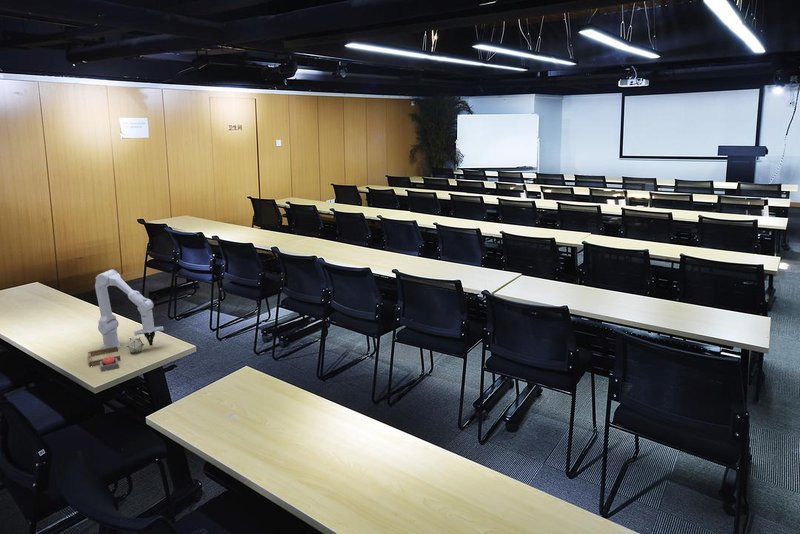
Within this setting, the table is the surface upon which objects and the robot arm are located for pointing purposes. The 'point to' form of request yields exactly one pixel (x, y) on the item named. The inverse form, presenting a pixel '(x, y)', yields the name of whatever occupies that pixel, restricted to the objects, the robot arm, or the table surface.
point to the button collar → (109, 367)
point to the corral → (101, 351)
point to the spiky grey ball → (135, 345)
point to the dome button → (108, 360)
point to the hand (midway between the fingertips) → (150, 344)
